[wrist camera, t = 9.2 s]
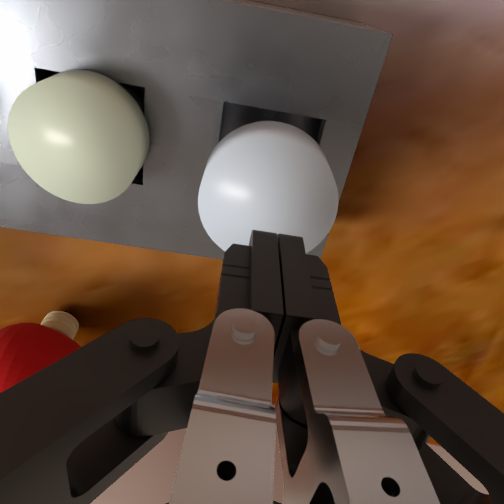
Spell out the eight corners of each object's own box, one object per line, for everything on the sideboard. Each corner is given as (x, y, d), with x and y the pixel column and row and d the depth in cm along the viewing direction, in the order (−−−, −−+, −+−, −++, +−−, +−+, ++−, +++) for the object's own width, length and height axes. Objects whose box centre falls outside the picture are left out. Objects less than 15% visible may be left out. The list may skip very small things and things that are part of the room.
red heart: (10, 264, 30) (-85, 372, 22) (106, 275, 30) (48, 385, 22) (31, 350, 35) (-40, 464, 27) (112, 359, 35) (68, 473, 27)
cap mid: (165, 69, 19) (139, 92, 15) (160, 170, 22) (137, 212, 18) (54, 49, 19) (-3, 67, 15) (64, 154, 22) (18, 193, 18)
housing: (360, 22, 21) (392, 34, 16) (305, 220, 28) (315, 273, 23) (-129, -77, 19) (-267, -99, 14) (-63, 162, 26) (-141, 206, 21)
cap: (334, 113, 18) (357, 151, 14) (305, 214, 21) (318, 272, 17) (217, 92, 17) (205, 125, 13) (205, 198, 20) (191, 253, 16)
